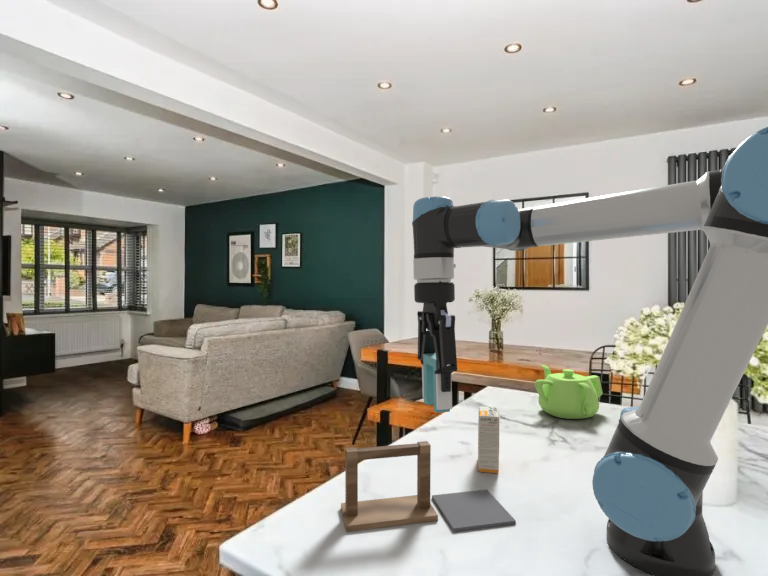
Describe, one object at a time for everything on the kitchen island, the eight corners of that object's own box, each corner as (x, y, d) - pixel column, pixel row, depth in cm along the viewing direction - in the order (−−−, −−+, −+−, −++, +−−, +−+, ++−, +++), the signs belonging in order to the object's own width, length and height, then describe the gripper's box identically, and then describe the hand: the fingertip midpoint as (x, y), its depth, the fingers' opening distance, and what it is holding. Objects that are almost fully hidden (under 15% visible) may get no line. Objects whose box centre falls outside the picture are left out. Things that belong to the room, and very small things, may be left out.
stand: (437, 520, 82) (438, 450, 81) (346, 531, 78) (346, 458, 78) (424, 499, 90) (425, 435, 89) (341, 508, 86) (340, 442, 86)
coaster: (515, 523, 81) (515, 520, 81) (453, 531, 78) (453, 528, 78) (486, 492, 92) (486, 489, 92) (431, 498, 90) (431, 495, 90)
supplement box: (499, 474, 101) (500, 417, 100) (478, 472, 102) (478, 415, 101) (497, 459, 109) (498, 406, 109) (477, 457, 110) (478, 405, 110)
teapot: (594, 426, 132) (595, 379, 132) (527, 415, 143) (527, 371, 143) (602, 410, 148) (603, 367, 148) (541, 401, 159) (541, 361, 158)
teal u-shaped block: (449, 411, 80) (448, 358, 80) (437, 412, 80) (435, 359, 80) (436, 401, 87) (435, 353, 87) (424, 402, 86) (423, 353, 86)
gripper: (476, 280, 74) (478, 416, 75) (434, 281, 94) (436, 389, 94) (433, 281, 73) (436, 420, 73) (400, 282, 92) (402, 392, 92)
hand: (436, 403), depth 83 cm, fingers closed on teal u-shaped block, 7 cm apart
